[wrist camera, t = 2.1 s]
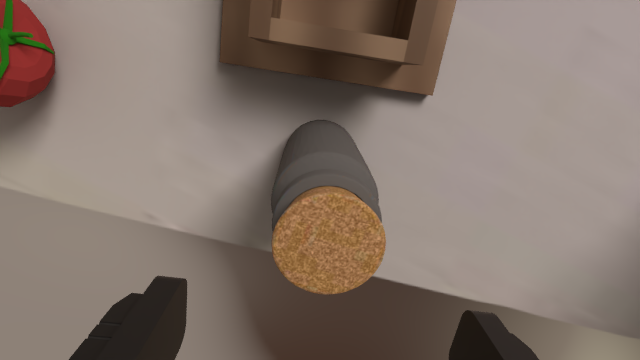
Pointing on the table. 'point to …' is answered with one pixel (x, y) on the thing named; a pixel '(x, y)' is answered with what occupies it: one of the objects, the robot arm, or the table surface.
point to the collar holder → (341, 39)
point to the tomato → (23, 54)
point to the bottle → (325, 212)
